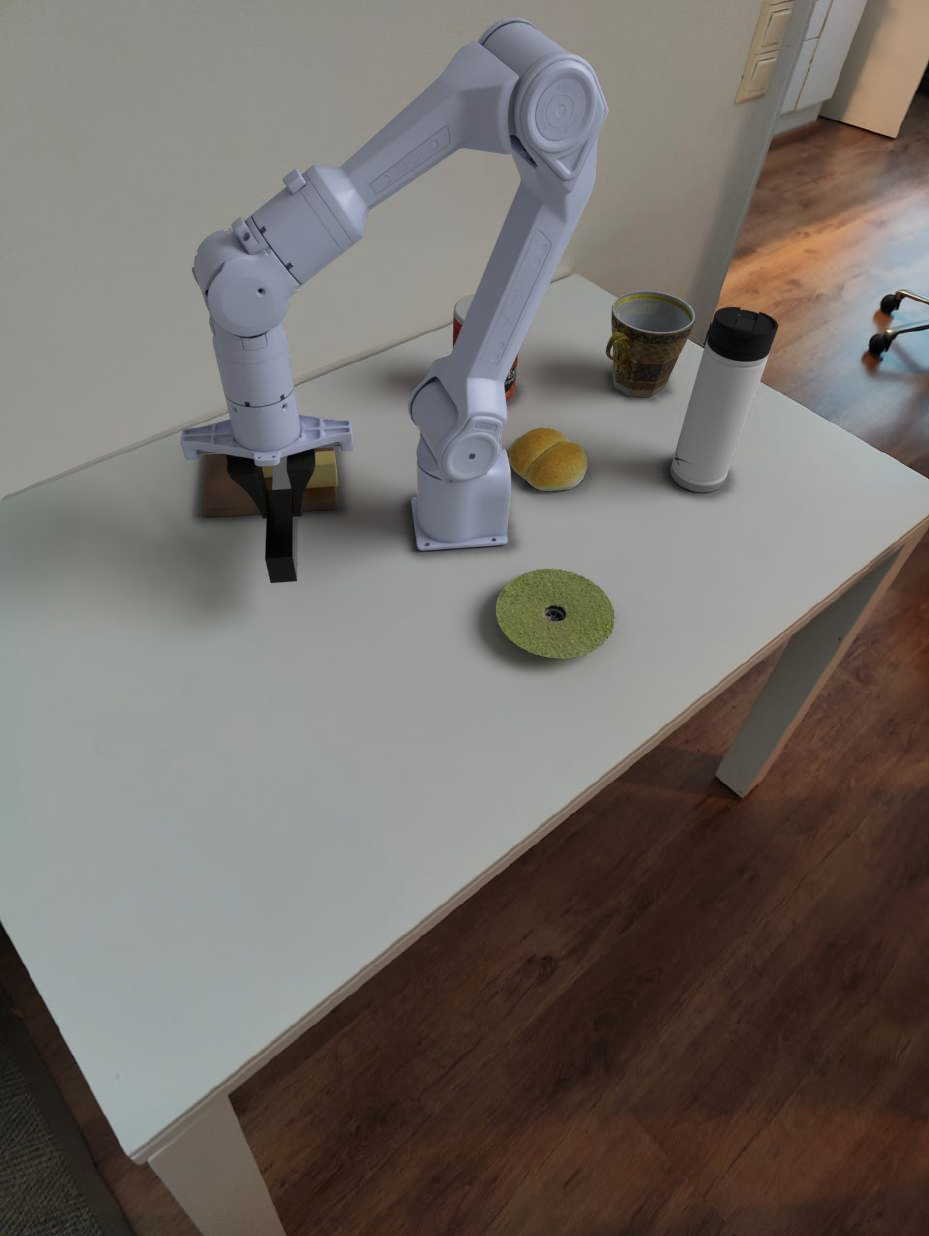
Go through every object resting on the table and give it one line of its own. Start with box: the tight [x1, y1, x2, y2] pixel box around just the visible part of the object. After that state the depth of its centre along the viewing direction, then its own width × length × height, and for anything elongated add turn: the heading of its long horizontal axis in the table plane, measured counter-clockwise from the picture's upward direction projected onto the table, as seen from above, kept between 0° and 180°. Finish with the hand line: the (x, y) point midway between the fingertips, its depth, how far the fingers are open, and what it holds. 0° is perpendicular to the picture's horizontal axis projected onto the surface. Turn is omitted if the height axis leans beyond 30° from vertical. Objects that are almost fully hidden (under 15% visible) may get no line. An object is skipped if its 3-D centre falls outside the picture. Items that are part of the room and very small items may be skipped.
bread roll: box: [508, 427, 589, 492], centre depth 93 cm, size 8×9×4 cm
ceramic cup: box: [605, 290, 696, 398], centre depth 102 cm, size 13×10×10 cm
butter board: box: [202, 447, 338, 518], centre depth 92 cm, size 14×13×1 cm
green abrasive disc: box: [495, 568, 616, 659], centre depth 78 cm, size 11×11×2 cm
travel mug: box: [669, 306, 779, 493], centre depth 87 cm, size 6×7×20 cm
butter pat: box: [306, 450, 339, 488], centre depth 89 cm, size 4×2×3 cm, turn 98°
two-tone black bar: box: [264, 456, 298, 584], centre depth 79 cm, size 19×2×3 cm, turn 7°
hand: (282, 510), depth 78 cm, fingers closed on two-tone black bar, 2 cm apart
